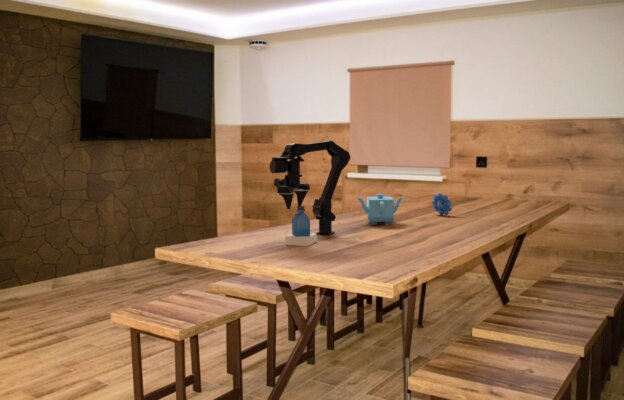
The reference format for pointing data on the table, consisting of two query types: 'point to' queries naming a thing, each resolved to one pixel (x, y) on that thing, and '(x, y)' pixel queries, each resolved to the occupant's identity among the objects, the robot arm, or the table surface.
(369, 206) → the teakettle
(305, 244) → the cream block
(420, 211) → the table surface
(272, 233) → the table surface
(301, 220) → the perfume bottle
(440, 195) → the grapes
